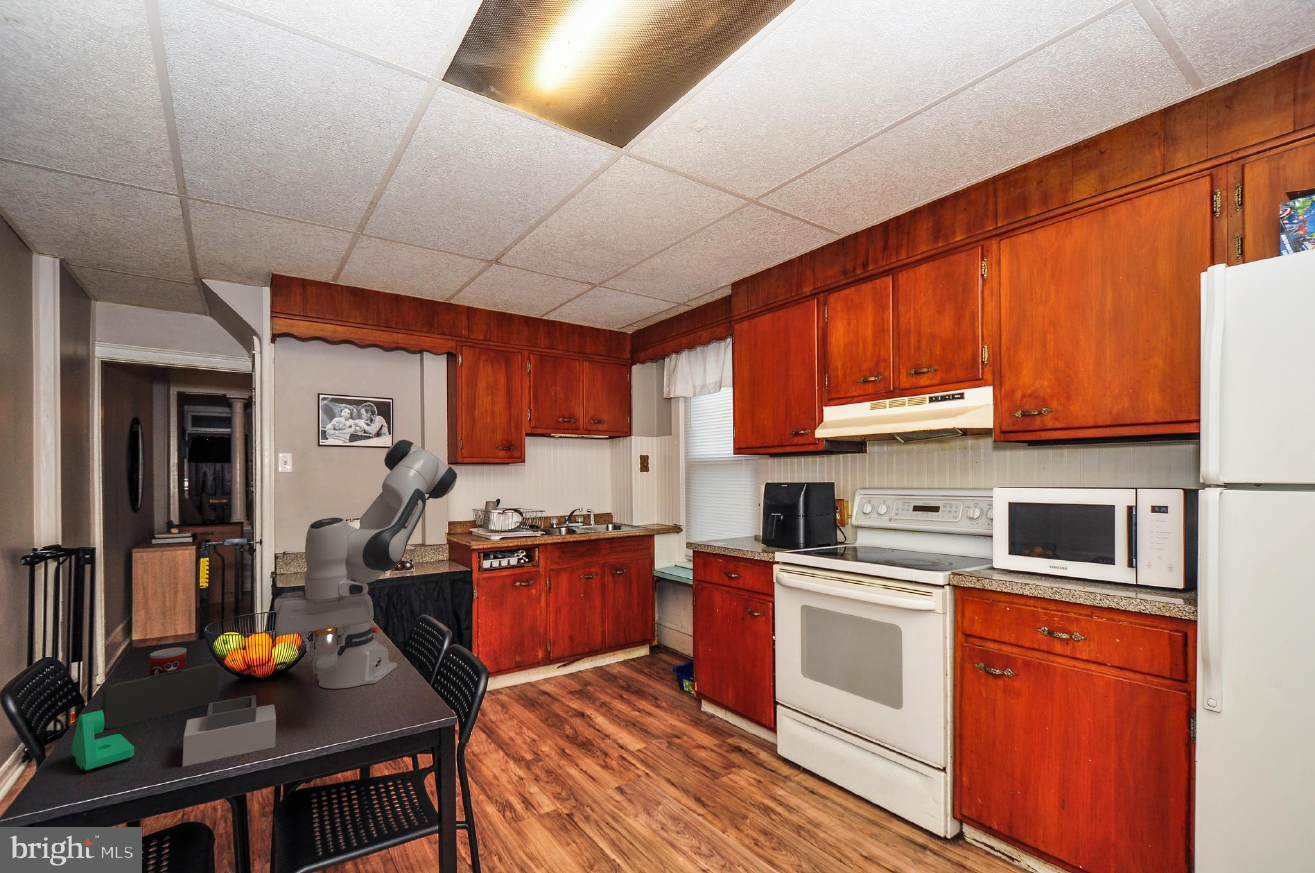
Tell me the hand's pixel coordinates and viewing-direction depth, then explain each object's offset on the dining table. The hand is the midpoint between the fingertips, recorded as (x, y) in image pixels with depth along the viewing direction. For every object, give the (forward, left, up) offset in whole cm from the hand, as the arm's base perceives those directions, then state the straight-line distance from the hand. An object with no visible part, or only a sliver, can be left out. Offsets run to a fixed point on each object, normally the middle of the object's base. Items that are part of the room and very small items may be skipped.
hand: (325, 647), depth 144 cm
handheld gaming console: (0, -45, -19) cm, 49 cm away
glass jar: (0, 0, -5) cm, 5 cm away
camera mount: (+22, -34, -19) cm, 45 cm away
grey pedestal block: (+12, -13, -19) cm, 26 cm away
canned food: (-12, -58, -19) cm, 62 cm away
